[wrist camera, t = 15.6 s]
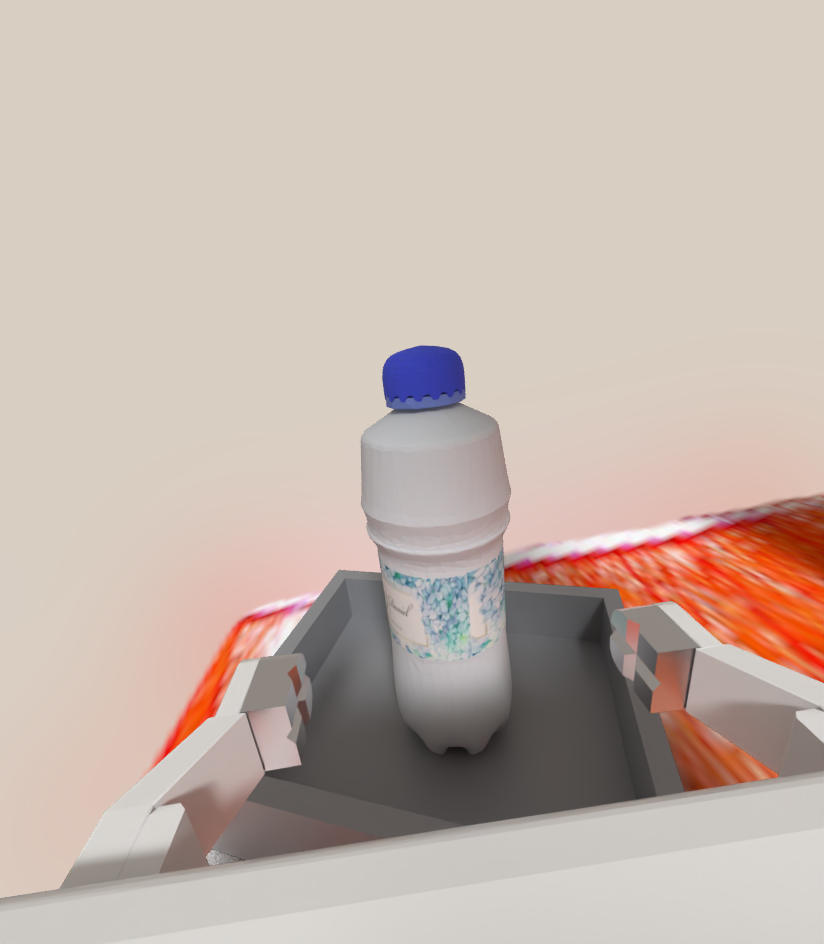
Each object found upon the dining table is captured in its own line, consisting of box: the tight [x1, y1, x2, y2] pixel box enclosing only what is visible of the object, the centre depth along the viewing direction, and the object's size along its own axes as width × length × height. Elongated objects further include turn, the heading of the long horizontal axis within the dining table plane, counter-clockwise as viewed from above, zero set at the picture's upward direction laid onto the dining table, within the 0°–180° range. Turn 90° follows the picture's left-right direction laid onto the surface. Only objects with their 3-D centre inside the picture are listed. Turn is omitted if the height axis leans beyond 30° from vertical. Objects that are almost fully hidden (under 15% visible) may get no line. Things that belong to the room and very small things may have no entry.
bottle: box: [361, 346, 512, 755], centre depth 19 cm, size 7×7×20 cm
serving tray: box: [212, 570, 685, 860], centre depth 22 cm, size 20×16×4 cm
